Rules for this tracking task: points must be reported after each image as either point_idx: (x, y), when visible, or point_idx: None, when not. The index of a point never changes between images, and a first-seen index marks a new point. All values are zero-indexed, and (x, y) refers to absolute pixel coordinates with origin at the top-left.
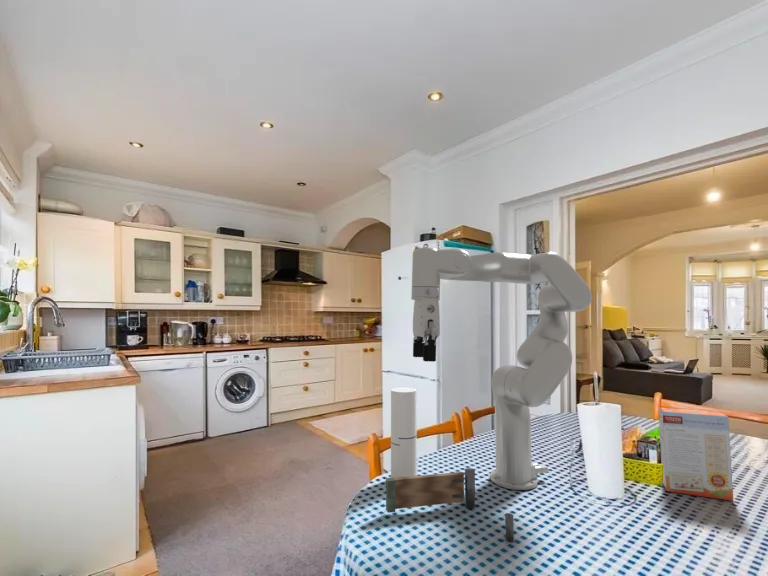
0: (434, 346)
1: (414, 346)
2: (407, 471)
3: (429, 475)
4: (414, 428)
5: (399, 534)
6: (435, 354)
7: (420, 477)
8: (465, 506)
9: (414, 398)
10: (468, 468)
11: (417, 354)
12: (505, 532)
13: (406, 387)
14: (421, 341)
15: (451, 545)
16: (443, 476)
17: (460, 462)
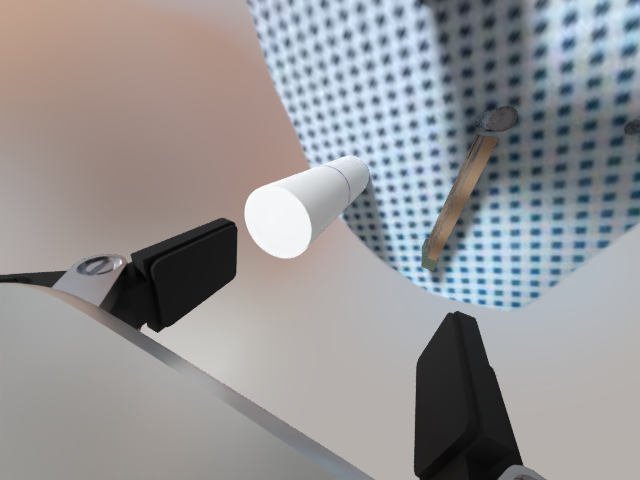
0: (498, 447)
1: (186, 311)
2: (363, 185)
3: (457, 205)
4: (341, 184)
5: (478, 257)
6: (484, 358)
7: (454, 223)
8: (481, 130)
9: (314, 202)
10: (493, 116)
11: (226, 267)
12: (635, 133)
13: (249, 198)
14: (137, 292)
15: (555, 219)
16: (475, 182)
17: (319, 20)
